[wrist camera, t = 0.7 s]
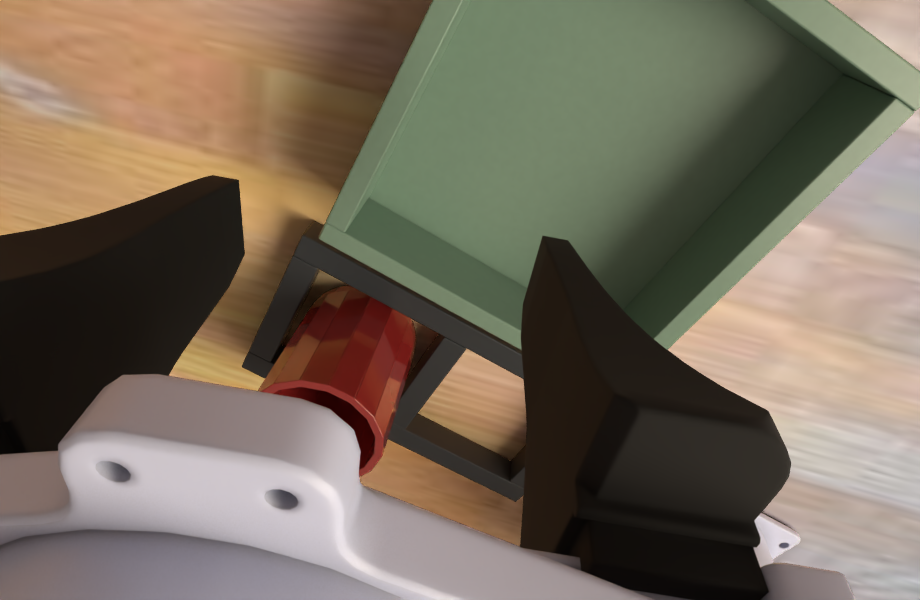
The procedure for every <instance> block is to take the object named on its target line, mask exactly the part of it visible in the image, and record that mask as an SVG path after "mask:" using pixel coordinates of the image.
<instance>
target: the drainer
mask: <svg viewBox="0 0 920 600" xmlns="http://www.w3.org/2000/svg"><path fill="white" fill-rule="evenodd" d="M322 228H323V225H321V224H319V223H317V222H316V221H314V222H312V224H311V225H310V226H309V227H308V229H307V230H306V231H305V232H304V233H303V235H302V237H301V239H300V241H299V243H298V245H297V247H296V250H295V252H294V255H293V256H292V258H291V260H290V263H289V265H288V267H287V269H286V271H285V273H284V276H283V278H282V280H281V282H280V284H279V286H278V289H277V291H276V293H275V295H274V297H273V299H272V302H271V304H270V306H269V308H268V310H267V312H266V315H265V317H264V319H263V321H262V323H261V325H260V328H259V330H258V332H257V334H256V336H255V339H254V341H253V343H252V345H251V347H250V349H249V352H248V354H247V356H246V358H245V360H244V362H243V364H242V367H243V368H245V369H247V370H249V371H251V372H253V373H255V374H257V375H259V376H261V377H263V378H266V377H267V375H268V374H269V372H270V371H271V369H272V367H273V366H274V364H275V363H276V361H277V360H278V358H279V356H280V355H281V353H282V352H283V350H284V349H285V347H284V346H282V344H283V342H284V340H285V338H286V336H287V334H288V332H289V330H290V328H291V326H292V324H293V322H294V320H295V318H296V316H297V314H298V312H299V310H300V308H301V306H302V304H303V302H304V300H305V298H306V296H307V294H308V292H309V290H310V288H311V286H312V284H313V282H314V280H315V278H316V276H317V274H318V272H319V270H322V271H324V272H326V273H328V274H329V275H331V276H333V277H335V278H337V279H339V280H341V281H342V282H344V283H346V284H348V285H350V286H352V287H354V288H355V289H357V290H359V291H361V292H363V293H365V294H367V295H368V296H370V297H372V298H374V299H376V300H378V301H380V302H381V303H383V304H385V305H387V306H389V307H391V308H393V309H394V310H396V311H398V312H400V313H402V314H404V315H406V316H407V317H409V318H411V319H413V320H415V321H417V322H419V323H420V324H422V325H424V326H426V327H428V328H430V329H432V330H433V331H435V332H437V333H439V334H438V335H437V337H436V338H435V339H434V341H433V342H432V344H431V345H430V346H429V348H428V349H427V351H426V352H425V354H424V355H423V356H422V358H421V359H420V361H419V362H418V363H417V365H416V366H415V368H414V369H413V370H412V372H411V373H410V375H409V376H408V378H407V379H406V382H405V385H404V388H403V392H402V395H401V398H400V401H399V404H398V407H397V411H396V414H395V417H394V420H393V423H392V427H391V430H390V433H389V436H388V439H389V440H391V441H393V442H395V443H397V444H399V445H401V446H403V447H405V448H407V449H409V450H411V451H413V452H415V453H417V454H420V455H422V456H424V457H426V458H428V459H430V460H432V461H434V462H436V463H438V464H440V465H442V466H444V467H446V468H448V469H450V470H452V471H454V472H456V473H458V474H460V475H462V476H464V477H466V478H468V479H470V480H472V481H474V482H476V483H478V484H481V485H483V486H485V487H487V488H489V489H491V490H493V491H495V492H497V493H499V494H501V495H503V496H505V497H507V498H509V499H511V500H513V501H515V502H516V501H518V500H519V499H520V498H521V497H522V496H523V495H524V478H525V458H526V446H525V447H524V448H523V449H522V450H521V451H520V452H519V453H518V454H517V455H516V456H515V457H514V458H513V460H512V461H510V460H508V459H506V458H504V457H502V456H500V455H498V454H496V453H494V452H492V451H490V450H488V449H486V448H484V447H482V446H480V445H478V444H476V443H474V442H472V441H470V440H468V439H466V438H464V437H462V436H460V435H458V434H456V433H454V432H452V431H450V430H448V429H446V428H445V427H443V426H441V425H439V424H437V423H435V422H433V421H431V420H429V419H427V418H425V417H423V416H421V415H419V414H417V413H418V412H419V410H420V409H421V408H422V407H423V405H424V404H425V403H426V401H427V400H428V399H429V397H430V396H431V395H432V393H433V392H434V391H435V389H436V388H437V387H438V386H439V384H440V383H441V382H442V380H443V379H444V378H445V376H446V375H447V374H448V372H449V371H450V370H451V368H452V367H453V366H454V365H455V363H456V362H457V361H458V359H459V358H460V357H461V355H462V354H463V353H464V351H465V350H466V348H467V349H469V350H471V351H472V352H474V353H476V354H478V355H480V356H482V357H484V358H485V359H487V360H489V361H491V362H493V363H495V364H497V365H498V366H500V367H502V368H504V369H506V370H508V371H510V372H511V373H513V374H515V375H517V376H519V377H521V378H523V379H524V376H523V364H522V350H520V349H519V348H517V347H515V346H513V345H511V344H509V343H508V342H506V341H504V340H502V339H500V338H498V337H497V336H495V335H493V334H491V333H489V332H488V331H486V330H484V329H482V328H480V327H478V326H477V325H475V324H473V323H471V322H469V321H468V320H466V319H464V318H462V317H460V316H458V315H457V314H455V313H453V312H451V311H449V310H447V309H446V308H444V307H442V306H440V305H438V304H437V303H435V302H433V301H431V300H429V299H427V298H426V297H424V296H422V295H420V294H418V293H416V292H415V291H413V290H411V289H409V288H407V287H406V286H404V285H402V284H400V283H398V282H396V281H395V280H393V279H391V278H389V277H387V276H385V275H384V274H382V273H380V272H378V271H376V270H375V269H373V268H371V267H369V266H367V265H365V264H364V263H362V262H360V261H358V260H356V259H354V258H353V257H351V256H349V255H347V254H345V253H344V252H342V251H340V250H338V249H336V248H334V247H333V246H331V245H329V244H327V243H325V242H323V241H322V240H320V239H319V235H320V233H321V230H322Z"/></svg>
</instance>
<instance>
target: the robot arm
mask: <svg viewBox="0 0 920 600" xmlns="http://www.w3.org/2000/svg"><path fill="white" fill-rule="evenodd" d="M244 254H245V251H244V239H243V226H242V214H241V202H240V189H239V180H236V179H230V178H225V177H219V176H214V175H212V176H208V177H204V178H200V179H197V180H194V181H191V182H188V183H186V184H183V185H180V186H177V187H175V188H172V189H169V190H167V191H164V192H161V193H159V194H156V195H153V196H150V197H148V198H145V199H142V200H140V201H137V202H134V203H131V204H128V205H125V206H122V207H118V208H115V209H112V210H109V211H106V212H103V213H100V214H97V215H94V216H90V217H87V218H83V219H79V220H76V221H72V222H67V223H63V224H59V225H55V226H51V227H46V228H41V229H36V230H30V231H24V232H19V233H13V234H7V235H1V236H0V600H856V599H855V596H854V594H853V592H852V590H851V588H850V586H849V584H848V582H847V579H846V577H845V575H844V574H841V573H839V572H836V571H830V570H824V569H818V568H812V567H806V566H800V565H794V564H788V563H774V562H773V560H772V559H773V558H775V557H777V556H779V555H780V554H782V553H784V552H785V551H787V550H789V549H790V548H792V547H794V546H795V545H797V544H798V543H799V542H800V537H799V534H798V533H797V532H796V531H794V530H793V529H791V528H789V527H787V526H785V525H783V524H781V523H779V522H778V521H776V520H774V519H772V518H770V517H768V516H766V515H765V514H763V513H761V512H762V511H763V510H764V509H765V508H766V506H767V505H768V504H769V503H770V502H771V500H772V499H773V498H774V497H775V496H776V495H777V493H778V492H779V491H780V490H781V489H782V487H783V485H784V484H785V482H786V480H787V479H788V477H789V473H790V467H791V461H790V458H789V455H788V451H787V449H786V447H785V445H784V442H783V440H782V438H781V436H780V434H779V432H778V430H777V428H776V426H775V423H774V421H773V419H772V417H771V416H770V414H769V412H768V411H767V410H766V409H764V408H762V407H760V406H758V405H756V404H754V403H752V402H750V401H748V400H746V399H744V398H743V397H741V396H739V395H737V394H735V393H733V392H731V391H729V390H727V389H725V388H724V387H722V386H720V385H719V384H717V383H715V382H714V381H712V380H710V379H709V378H707V377H706V376H704V375H702V374H701V373H699V372H698V371H696V370H695V369H693V368H692V367H690V366H689V365H687V364H686V363H684V362H683V361H681V360H680V359H679V358H677V357H676V356H675V355H673V354H672V353H671V352H669V351H668V350H667V349H665V348H664V347H663V346H662V345H660V344H659V343H658V342H657V341H655V340H654V339H653V338H652V337H651V336H650V335H648V334H647V333H646V332H645V331H644V330H643V329H642V328H641V327H640V326H639V325H638V324H636V323H635V322H634V321H633V320H632V319H631V318H630V317H629V316H628V315H627V314H626V313H625V312H624V311H623V309H622V308H621V307H620V306H619V305H618V304H617V303H616V302H615V301H614V300H613V298H612V297H611V296H610V295H609V294H608V293H607V291H606V290H605V289H604V288H603V287H602V285H601V284H600V283H599V282H598V280H597V279H596V278H595V276H594V275H593V274H592V272H591V271H590V270H589V268H588V267H587V266H586V264H585V263H584V261H583V260H582V259H581V257H580V256H579V254H578V253H577V252H576V250H575V249H574V248H573V246H572V245H571V243H570V242H569V241H568V240H564V239H559V238H553V237H548V236H542V239H541V243H540V246H539V250H538V253H537V256H536V260H535V263H534V267H533V270H532V274H531V277H530V281H529V284H528V288H527V291H526V295H525V298H524V302H523V309H522V323H521V350H522V364H523V376H524V389H525V402H526V421H527V432H526V458H525V478H524V497H523V512H522V527H521V542H520V547H519V546H517V545H514V544H512V543H509V542H506V541H504V540H501V539H499V538H496V537H494V536H491V535H489V534H486V533H484V532H481V531H478V530H476V529H473V528H471V527H468V526H466V525H463V524H461V523H458V522H456V521H453V520H450V519H448V518H445V517H443V516H440V515H438V514H435V513H433V512H430V511H428V510H425V509H422V508H420V507H417V506H415V505H412V504H410V503H407V502H405V501H402V500H400V499H397V498H394V497H392V496H389V495H387V494H384V493H382V492H379V491H377V490H374V489H372V488H369V487H366V486H364V485H362V484H361V483H360V478H359V464H360V453H361V451H360V448H359V444H358V441H357V438H356V435H355V432H354V430H353V429H352V428H351V427H350V426H349V425H348V424H347V423H346V422H344V421H343V420H342V419H341V418H340V417H339V416H338V415H336V414H335V413H334V412H333V411H332V410H331V409H329V408H326V407H323V406H321V405H318V404H315V403H312V402H309V401H306V400H304V399H300V398H295V397H289V396H283V395H277V394H271V393H265V392H259V391H254V390H248V389H242V388H236V387H230V386H224V385H219V384H213V383H207V382H201V381H195V380H189V379H183V378H178V377H172V376H169V374H170V372H171V370H172V368H173V367H174V365H175V363H176V362H177V360H178V359H179V357H180V356H181V354H182V352H183V351H184V350H185V348H186V347H187V345H188V344H189V343H190V341H191V340H192V338H193V337H194V336H195V334H196V333H197V331H198V330H199V329H200V327H201V326H202V324H203V323H204V322H205V320H206V319H207V317H208V316H209V315H210V313H211V312H212V310H213V309H214V307H215V306H216V305H217V303H218V302H219V300H220V299H221V297H222V296H223V295H224V293H225V292H226V290H227V289H228V287H229V286H230V284H231V282H232V280H233V278H234V276H235V274H236V272H237V270H238V267H239V265H240V263H241V261H242V259H243V257H244Z"/></svg>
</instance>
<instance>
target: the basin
mask: <svg viewBox="0 0 920 600" xmlns="http://www.w3.org/2000/svg"><path fill="white" fill-rule="evenodd" d="M919 108H920V71H919V70H918V69H916V68H915V67H914V66H912V65H911V64H910V63H909V62H907V61H906V60H905V59H903V58H902V57H901V56H899V55H898V54H897V53H895V52H894V51H893V50H891V49H890V48H889V47H887V46H886V45H885V44H884V43H882V42H881V41H880V40H878V39H877V38H876V37H874V36H873V35H872V34H870V33H869V32H868V31H866V30H865V29H864V28H863V27H861V26H860V25H859V24H857V23H856V22H855V21H853V20H852V19H851V18H849V17H848V16H847V15H845V14H844V13H843V12H842V11H840V10H839V9H838V8H836V7H835V6H834V5H832V4H831V3H830V2H828V1H827V0H432V2H431V4H430V6H429V8H428V10H427V12H426V14H425V16H424V18H423V20H422V23H421V25H420V27H419V29H418V31H417V33H416V35H415V37H414V39H413V41H412V43H411V45H410V47H409V50H408V52H407V54H406V56H405V58H404V60H403V62H402V64H401V66H400V68H399V70H398V72H397V74H396V77H395V79H394V81H393V83H392V85H391V87H390V89H389V91H388V93H387V95H386V97H385V99H384V101H383V104H382V106H381V108H380V110H379V112H378V114H377V116H376V118H375V120H374V122H373V124H372V126H371V128H370V131H369V133H368V135H367V137H366V139H365V141H364V143H363V145H362V147H361V149H360V151H359V153H358V155H357V158H356V160H355V162H354V164H353V166H352V168H351V170H350V172H349V174H348V176H347V178H346V180H345V182H344V185H343V187H342V189H341V191H340V193H339V195H338V197H337V199H336V201H335V203H334V205H333V207H332V210H331V212H330V214H329V216H328V218H327V220H326V223H325V224H324V226H323V228H322V230H321V233H320V235H319V239H320V240H322V241H323V242H325V243H327V244H329V245H331V246H333V247H334V248H336V249H338V250H340V251H342V252H344V253H345V254H347V255H349V256H351V257H353V258H354V259H356V260H358V261H360V262H362V263H364V264H365V265H367V266H369V267H371V268H373V269H375V270H376V271H378V272H380V273H382V274H384V275H385V276H387V277H389V278H391V279H393V280H395V281H396V282H398V283H400V284H402V285H404V286H406V287H407V288H409V289H411V290H413V291H415V292H416V293H418V294H420V295H422V296H424V297H426V298H427V299H429V300H431V301H433V302H435V303H437V304H438V305H440V306H442V307H444V308H446V309H447V310H449V311H451V312H453V313H455V314H457V315H458V316H460V317H462V318H464V319H466V320H468V321H469V322H471V323H473V324H475V325H477V326H478V327H480V328H482V329H484V330H486V331H488V332H489V333H491V334H493V335H495V336H497V337H498V338H500V339H502V340H504V341H506V342H508V343H509V344H511V345H513V346H515V347H517V348H519V349H520V350H521V323H522V309H523V302H524V298H525V295H526V291H527V288H528V284H529V281H530V277H531V274H532V270H533V267H534V263H535V260H536V256H537V253H538V250H539V246H540V243H541V239H542V236H548V237H553V238H559V239H564V240H568V241H569V242H570V243H571V245H572V246H573V248H574V249H575V250H576V252H577V253H578V254H579V256H580V257H581V259H582V260H583V261H584V263H585V264H586V266H587V267H588V268H589V270H590V271H591V272H592V274H593V275H594V276H595V278H596V279H597V280H598V282H599V283H600V284H601V285H602V287H603V288H604V289H605V290H606V291H607V293H608V294H609V295H610V296H611V297H612V298H613V300H614V301H615V302H616V303H617V304H618V305H619V306H620V307H621V308H622V309H623V311H624V312H625V313H626V314H627V315H628V316H629V317H630V318H631V319H632V320H633V321H634V322H635V323H636V324H638V325H639V326H640V327H641V328H642V329H643V330H644V331H645V332H646V333H647V334H648V335H650V336H651V337H652V338H653V339H654V340H655V341H657V342H658V343H659V344H660V345H662V346H663V347H664V348H665V349H667V350H668V349H669V348H670V347H671V346H672V345H673V344H674V343H675V342H676V341H677V340H678V339H679V338H680V337H681V336H682V335H683V334H684V333H685V332H686V331H687V330H688V329H690V328H691V327H692V326H693V325H694V324H695V323H696V322H697V321H698V320H699V319H700V318H701V317H702V316H703V315H704V314H705V313H706V312H707V311H708V310H709V309H710V308H711V307H712V306H714V305H715V304H716V303H717V302H718V301H719V300H720V299H721V298H722V297H723V296H724V295H725V294H726V293H727V292H728V291H729V290H730V289H731V288H732V287H733V286H734V285H735V284H736V283H737V282H739V281H740V280H741V279H742V278H743V277H744V276H745V275H746V274H747V273H748V272H749V271H750V270H751V269H752V268H753V267H754V266H755V265H756V264H757V263H758V262H759V261H760V260H761V259H762V258H764V257H765V256H766V255H767V254H768V253H769V252H770V251H771V250H772V249H773V248H774V247H775V246H776V245H777V244H778V243H779V242H780V241H781V240H782V239H783V238H784V237H785V236H786V235H787V234H789V233H790V232H791V231H792V230H793V229H794V228H795V227H796V226H797V225H798V224H799V223H800V222H801V221H802V220H803V219H804V218H805V217H806V216H807V215H808V214H809V213H810V212H811V211H813V210H814V209H815V208H816V207H817V206H818V205H819V204H820V203H821V202H822V201H823V200H824V199H825V198H826V197H827V196H828V195H829V194H830V193H831V192H832V191H833V190H834V189H835V188H836V187H838V186H839V185H840V184H841V183H842V182H843V181H844V180H845V179H846V178H847V177H848V176H849V175H850V174H851V173H852V172H853V171H854V170H855V169H856V168H857V167H858V166H859V165H860V164H861V163H863V162H864V161H865V160H866V159H867V158H868V157H869V156H870V155H871V154H872V153H873V152H874V151H875V150H876V149H877V148H878V147H879V146H880V145H881V144H882V143H883V142H884V141H885V140H887V139H888V138H889V137H890V136H891V135H892V134H893V133H894V132H895V131H896V130H897V129H898V128H899V127H900V126H901V125H902V124H903V123H904V122H905V121H906V120H907V119H908V118H909V117H910V116H912V115H913V114H914V111H916V110H918V109H919Z"/></svg>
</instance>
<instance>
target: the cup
mask: <svg viewBox="0 0 920 600" xmlns="http://www.w3.org/2000/svg"><path fill="white" fill-rule="evenodd" d="M415 346H416V331H415V327H414V324H413V322H412V320H411V318H409V317H407V316H406V315H404V314H402V313H400V312H398V311H396V310H394V309H393V308H391V307H389V306H387V305H385V304H383V303H381V302H380V301H378V300H376V299H374V298H372V297H370V296H368V295H367V294H365V293H363V292H361V291H359V290H357V289H355V288H354V287H352V286H350V285H348V286H341V287H337V288H334V289H331V290H329V291H327V292H326V293H324V294H323V295H321V296H320V297H319V298H318V299H317V300H316V301H315V303H314V304H313V305H312V306H311V308H310V309H309V311H308V312H307V314H306V315H305V317H304V319H303V320H302V322H301V323H300V325H299V326H298V328H297V330H296V331H295V333H294V334H293V336H292V337H291V339H290V341H289V342H288V344H287V345H286V347H285V349H284V350H283V352H282V353H281V355H280V356H279V358H278V360H277V361H276V363H275V364H274V366H273V367H272V369H271V371H270V372H269V374H268V375H267V377H266V378H265V380H264V382H263V383H262V385H261V386H260V388H259V390H258V391H259V392H265V393H271V394H277V395H283V396H289V397H295V398H300V399H304V400H306V401H309V402H312V403H315V404H318V405H321V406H323V407H326V408H329V409H331V410H332V411H333V412H334V413H335V414H336V415H338V416H339V417H340V418H341V419H342V420H343V421H344V422H346V423H347V424H348V425H349V426H350V427H351V428H352V429H353V430H354V432H355V435H356V438H357V441H358V444H359V448H360V451H361V453H360V464H359V477H360V476H362V475H364V474H366V473H368V472H370V471H371V470H372V469H373V468H374V467H375V465H376V464H377V463H378V461H379V460H380V459H381V457H382V455H383V452H384V449H385V446H386V443H387V439H388V436H389V433H390V430H391V427H392V423H393V420H394V417H395V414H396V411H397V407H398V404H399V401H400V398H401V395H402V392H403V388H404V385H405V382H406V379H407V376H408V372H409V369H410V366H411V363H412V360H413V356H414V350H415Z"/></svg>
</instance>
